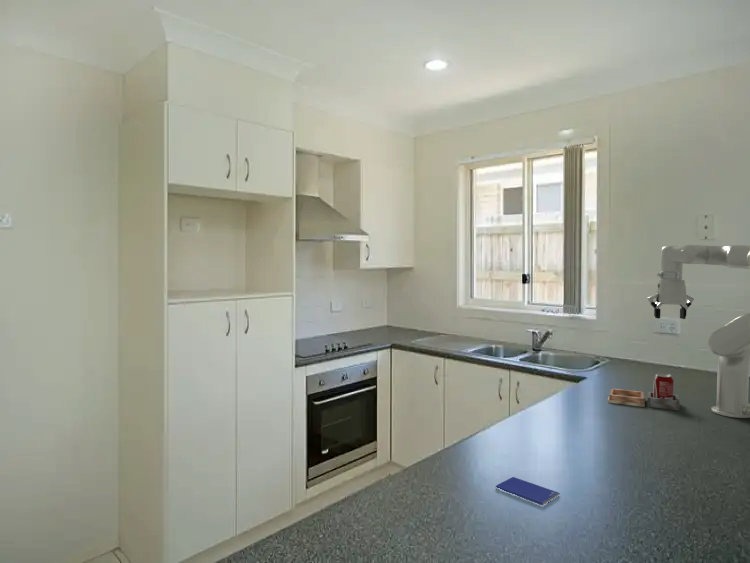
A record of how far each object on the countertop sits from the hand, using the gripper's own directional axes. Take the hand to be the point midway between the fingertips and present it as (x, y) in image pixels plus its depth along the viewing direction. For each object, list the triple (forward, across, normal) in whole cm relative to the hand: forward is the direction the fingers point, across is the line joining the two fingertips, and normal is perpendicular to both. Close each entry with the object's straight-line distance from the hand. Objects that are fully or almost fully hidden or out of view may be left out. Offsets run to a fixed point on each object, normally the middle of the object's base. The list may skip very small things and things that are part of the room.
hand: (670, 318), depth 206 cm
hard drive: (+34, -74, -93) cm, 124 cm away
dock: (+33, -12, -6) cm, 36 cm away
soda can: (+34, -6, -9) cm, 35 cm away
